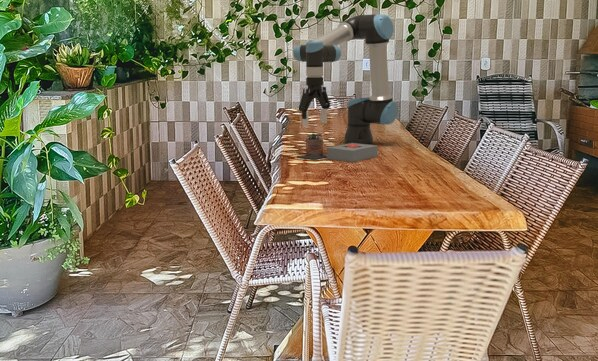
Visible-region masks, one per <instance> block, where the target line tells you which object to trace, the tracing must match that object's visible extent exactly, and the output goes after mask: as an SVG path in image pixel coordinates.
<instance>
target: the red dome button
mask: <svg viewBox="0 0 598 361" xmlns="http://www.w3.org/2000/svg"><path fill="white" fill-rule="evenodd" d="M346 144H347V147H348V148H358V144H349V143H346Z"/></svg>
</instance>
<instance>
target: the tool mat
mask: <svg viewBox="0 0 598 361" xmlns="http://www.w3.org/2000/svg"><path fill="white" fill-rule="evenodd" d="M296 158H298V159H302V160H303V159H304V160H310V161H311V160H313V161H317V160H323V159H327V154H323V156H306V154H302V155H298V156H296Z"/></svg>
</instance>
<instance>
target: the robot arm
mask: <svg viewBox="0 0 598 361" xmlns="http://www.w3.org/2000/svg"><path fill="white" fill-rule="evenodd" d="M393 35H394V23H393V21H392V18H390V17H389V16H388V15H386V14H380V13H376V14H373V13H371V14H359V15H358V14H357V15H354V16H351V17H350V18H347V19H345V20H344V21H341V22H340V23H339V24H338V25H337V27H336V28H333V29H331V30H330V31H327V32H326V33H325V34H323V35H320V36H319V37H317V38H315V39H313V40H308V41H306V43H305V44H297V45H296V46H295V47H294V49H293V58H294V60H295V61H297V62H301V63H304V62H305V63H306V64H305V74H306V78H305V85H306V86H307V88H303V89H302V95H301V97H300V98H301V99H300V102H299V105H298V111H299V112H301V119H302V120H301V121H302V123H301V124H302V127H309V111H308V110H309V107H310V105H311V104H312V101H313V100H314V99H317V101H318V103H319V104H320V106H321V108H320V123H321V124H327V122H328V118H327V117H328V110H329V109H330V107H331V103H330V100H329V95H328V93H327V87H326V86H324V77H323V76H324V63H334V62H337V61H339V60H340V59H341V56H342V51H341V50H342V49H341V48H340V47H339V45H340V44H342V43H344V42H350V41H353V40H364V43H365V45H366V46H367V47H368V58H369V71H370V72H369V73H370V87H371V96H369V97H368V96H367V97H359V98H351V99H349V100H348V103H347V128H346V131H345V134H344V138H343V143H344V144H349V143H357V144H367V145H372V144H373V143H374V136H373V133H372V129H371V124H375V125H381V126H384V125H392V124H393V123H394V122H395V120H396V118H397V116H398V113H399V105H398V104H397V102H395V101H393V100H394V99H393V95H391V94H390V86H389V68H388V66H389V65H388V55H387V54H388V52H387V45H388V44H389V43H390V39H391V38H392V37H393Z"/></svg>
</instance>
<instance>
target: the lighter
mask: <svg viewBox="0 0 598 361" xmlns="http://www.w3.org/2000/svg"><path fill="white" fill-rule="evenodd" d="M322 136H323V134H322V133H316V134H315V133H312V134H308V136H307V137H308V138H307V139H306V138H305V155H306V156H323V155H324V139H323V138H322Z"/></svg>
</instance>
